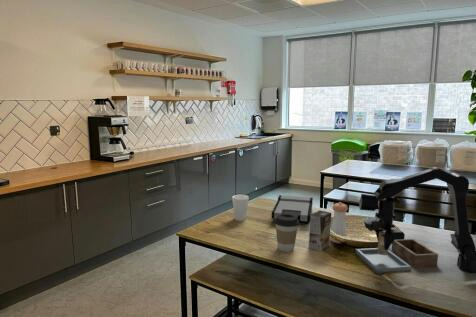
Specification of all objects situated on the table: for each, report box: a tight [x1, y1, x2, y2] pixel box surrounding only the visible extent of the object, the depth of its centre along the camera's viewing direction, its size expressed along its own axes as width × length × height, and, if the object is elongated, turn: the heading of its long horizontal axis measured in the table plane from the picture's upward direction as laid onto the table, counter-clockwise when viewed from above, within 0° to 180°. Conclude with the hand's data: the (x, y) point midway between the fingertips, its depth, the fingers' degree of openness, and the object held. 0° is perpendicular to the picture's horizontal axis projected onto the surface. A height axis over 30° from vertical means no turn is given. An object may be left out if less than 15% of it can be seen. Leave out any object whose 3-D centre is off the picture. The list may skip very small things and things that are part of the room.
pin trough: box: [391, 238, 439, 268], centre depth 146 cm, size 16×10×6 cm, turn 8°
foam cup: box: [231, 194, 250, 222], centre depth 195 cm, size 10×9×13 cm
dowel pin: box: [377, 231, 389, 255], centre depth 142 cm, size 4×4×9 cm
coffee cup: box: [273, 214, 300, 253], centre depth 156 cm, size 11×11×15 cm
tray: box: [355, 247, 412, 275], centre depth 143 cm, size 18×14×2 cm
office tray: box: [271, 194, 314, 225], centre depth 201 cm, size 21×32×8 cm, turn 166°
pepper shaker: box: [330, 201, 349, 244], centre depth 165 cm, size 7×7×19 cm
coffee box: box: [308, 210, 332, 252], centre depth 158 cm, size 9×6×16 cm
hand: (383, 247), depth 142 cm, fingers closed on dowel pin, 4 cm apart
